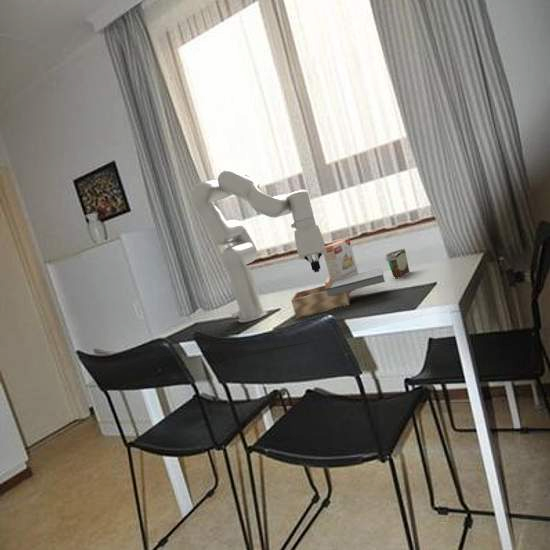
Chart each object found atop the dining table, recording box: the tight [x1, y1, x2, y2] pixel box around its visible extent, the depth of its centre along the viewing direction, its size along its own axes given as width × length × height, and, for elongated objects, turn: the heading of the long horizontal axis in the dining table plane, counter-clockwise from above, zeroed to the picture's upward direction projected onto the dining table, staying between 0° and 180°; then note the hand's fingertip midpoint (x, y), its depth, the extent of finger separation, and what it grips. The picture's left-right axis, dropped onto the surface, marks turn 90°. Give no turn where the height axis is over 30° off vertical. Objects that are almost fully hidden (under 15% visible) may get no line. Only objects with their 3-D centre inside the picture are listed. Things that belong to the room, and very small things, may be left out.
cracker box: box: [323, 238, 359, 294], centre depth 192 cm, size 14×6×21 cm, turn 143°
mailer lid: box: [324, 267, 386, 296], centre depth 173 cm, size 21×15×5 cm
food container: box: [385, 248, 410, 279], centre depth 193 cm, size 12×6×10 cm, turn 144°
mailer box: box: [290, 284, 351, 319], centre depth 176 cm, size 20×13×7 cm, turn 79°
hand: (317, 271), depth 175 cm, fingers closed
